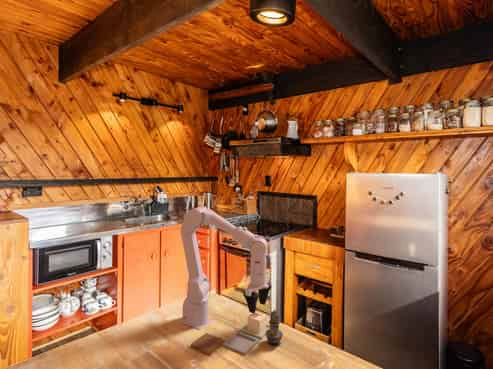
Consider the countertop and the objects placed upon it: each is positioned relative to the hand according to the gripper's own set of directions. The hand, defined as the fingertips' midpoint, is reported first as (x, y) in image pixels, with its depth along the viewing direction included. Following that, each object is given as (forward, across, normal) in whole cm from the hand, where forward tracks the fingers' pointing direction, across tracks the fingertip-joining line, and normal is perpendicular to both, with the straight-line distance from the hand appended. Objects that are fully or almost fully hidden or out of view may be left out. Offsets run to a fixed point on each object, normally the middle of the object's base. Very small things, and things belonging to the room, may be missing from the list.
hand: (257, 308), depth 108 cm
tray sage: (+8, 0, 0) cm, 8 cm away
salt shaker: (+8, -4, -9) cm, 13 cm away
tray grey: (+8, -10, 0) cm, 13 cm away
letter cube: (+8, 0, 0) cm, 8 cm away
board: (+8, -17, +9) cm, 21 cm away
